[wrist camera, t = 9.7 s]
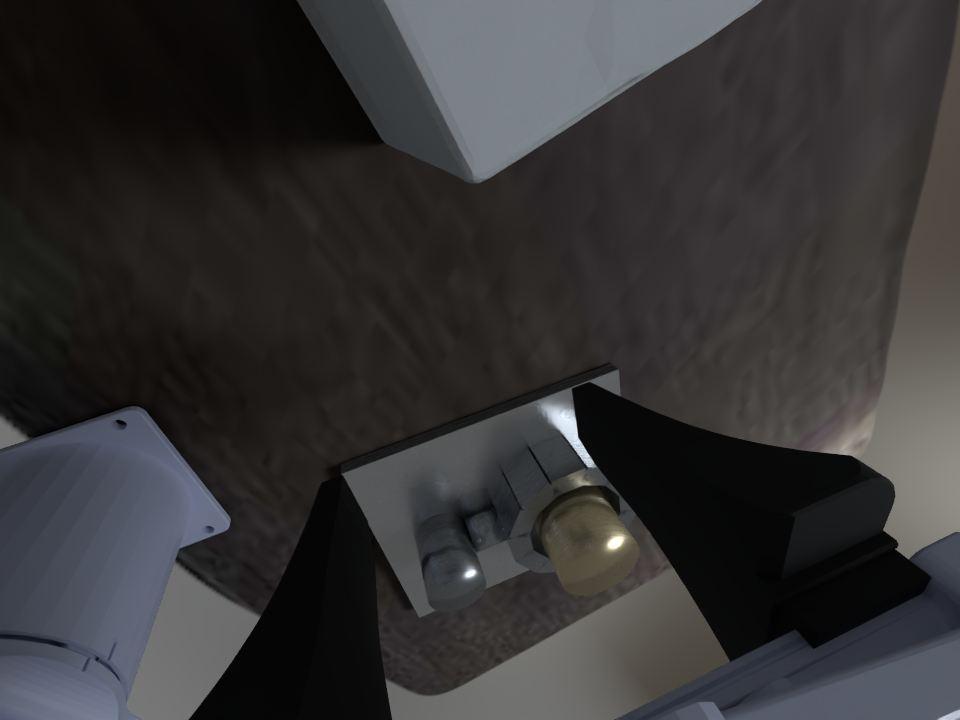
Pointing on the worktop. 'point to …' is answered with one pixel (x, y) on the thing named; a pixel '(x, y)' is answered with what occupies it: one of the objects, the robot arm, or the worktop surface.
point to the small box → (500, 66)
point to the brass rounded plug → (586, 541)
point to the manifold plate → (478, 493)
